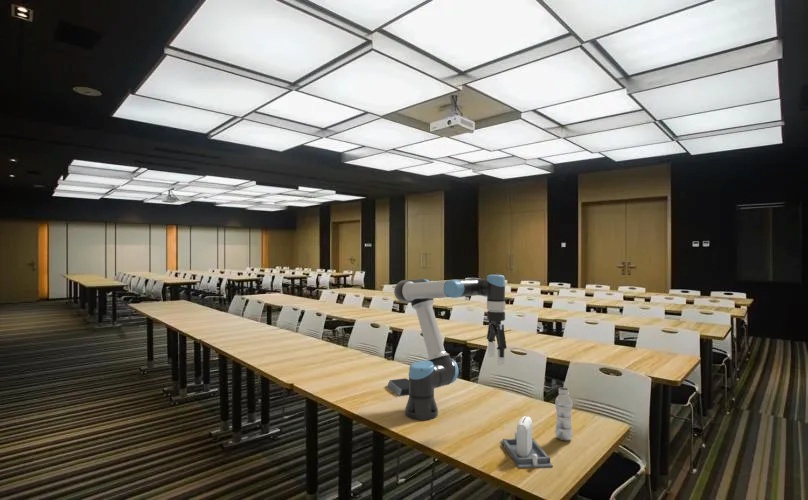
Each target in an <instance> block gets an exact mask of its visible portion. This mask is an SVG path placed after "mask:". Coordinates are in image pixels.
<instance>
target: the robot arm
mask: <svg viewBox="0 0 808 500" xmlns="http://www.w3.org/2000/svg"><path fill="white" fill-rule="evenodd" d="M393 289H394V290H393V292H394V297H395V299H396V300H397V301H399V302H401V303H404V304H409V303H410V305H411V308H412V309H413V310H415V311H416V315H417V318H418V319H417V320H418V323H419V326H420V330H421V334H422V337H423V341H424V344H425V348H426V352H427V355H428V356H427V359H426V360H417V361H415V362H413V363H412V364H411V365H410V366H409V367H408V380H409V395H408V399H407V402H406V405H405V409H404V411H405V412H404V414H405V416H406V417H407V418H409V419H412V420H418V421H428V420H432V419H435V418H436V417H437V416H439V415H438V414H439V412H438V411H439V410H438V409H439V408H438V406H437V402H436V400H435V389H438V388H441V387H444V386H448V385H451V384H453V383H454V382H455V381H457V379H458V376H459V367H458V364H457V362H456V361H455V360H454V359H453V358H451V356H450V353H448V352H447V351H446V350H445V347H444V343H443V340H442V336H441V333H440V329H439V325H438V321H437V319H436V315H435V311H434V308H433V304H434V302H435V301H434V299H442V298H451V299H452V298H453V299H456V298H457V299H458V298H465V297H472V296H473V297H475V296H481V297H486V309H487V312H486V319H487V320H488V328H487V334H486V340H487V342H488V345H487V346H488V347H487V349H488V351H487V353H488V354H487V355H488V358H495V357H496V350H497V366H505V362H506V361H505V354H506V353H505V350H506V349H507V341H506V334H505V325H504V324H502V322H504V321H505V320H506V312H505V311H506V306H507V303H506V278H505V276H504V275H502V274H488V275H487V276H486V278H478V277H477V278H476V277H468V278H465V279H464V278H462V279H449V280H435V281H430V280H429V279H427V278H426V279H425V278H419V279H404V280H400V281H399V282H397V284H396V285H395V287H394V288H393ZM496 342H497V343H496ZM496 344H497V347H496ZM495 348H496V349H495Z"/></svg>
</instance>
